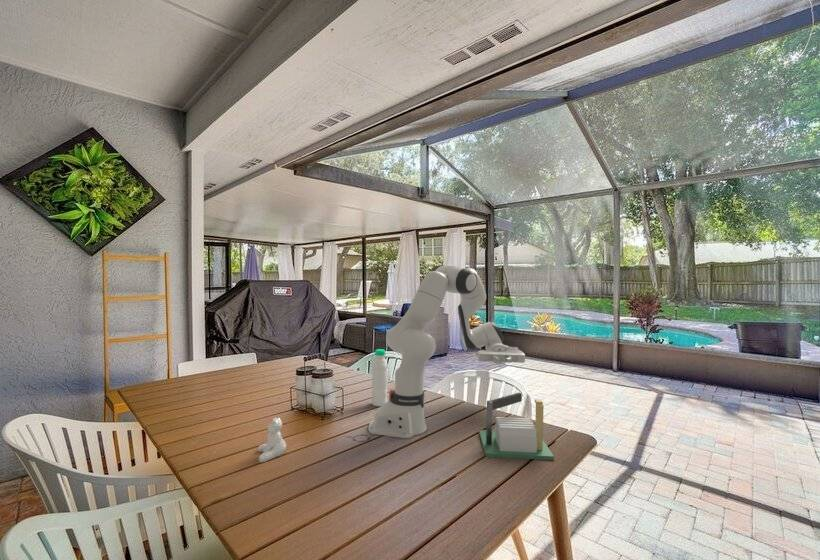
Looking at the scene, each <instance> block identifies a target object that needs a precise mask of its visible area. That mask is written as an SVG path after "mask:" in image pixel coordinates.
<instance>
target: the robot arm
mask: <svg viewBox="0 0 820 560" xmlns="http://www.w3.org/2000/svg"><path fill="white" fill-rule="evenodd" d="M447 292H448V293H450V294H451V293H453V294H460V303H459V304H458V306H457V313H458V321H459V324H460V331H461V340H462V344H463V346H464V348H465V349H466V351H467V350H468V351H471V352H475V351H477V350H478V349H480V348H483V347H485V350H484V349H483V350H482V349H481V350H478V351H477V352H476V353H475V355H476V357H477V360H478V362H488V363H489V362H491V363H492V362H493V363H494V364H497V365H501V364H506V363H507V364H510V363H516V364H517V363H519V364H520V363H521V364H524V363H525V362H526V354H525V353H524V352H523V351H522V350H520V349H519V347H516V346H512V345H511V346H510V345H506V344H504V343H503V342H504V335H503V332H502V330H501V329H500V327H499V326H498V325H497V323H495V322H493V321H488V322H485V323H483V324H481V325H479V326H475V327H474V328H471V325H470V318H471V317H472V316H473V315H474V314H475V313H476V312H477V311H479V310H480V309H481V308H482V307H483V306H484V305H485V303H486V300H487V293H486V289H485V286H484V283H483V281H482V279H481V277H480V276H479V274H478V272H477V271H476V270H475V269H474V268H471V267H465V268H464V267H458V266H455V265H443V264H442V265H436V266H433V267H432V269H431V270H430V271H428V272H427V273H426V275H425V276H424V278H423V279H422V280H421V283H420V285H419V286H418V289H417V290H416V292H415V295H414V297H413V299H412V301H411V303H410V305H409V308H408V309H407V310H406V312H405V313H404V315H403V316H402V317H401V318H400V320H399V321H398V322H397V323H396V324H395V325H394V326H392V327H391V328H389V330H387V333H386V335H385V342H386V345H387V347H389V348H390V349H391V350H392V351H393V352H394V353H396V354H400V355H401V360H400V361H401V362H400V364H399V367H398V368H397V369H396V370H395V373H394V388H390V389H389V391H388V392H389V395H388V396H389V398H388V399H389V400H387V403H385V404H384V405H382V406H379V408H378V409H377V410H376V413H375V414H374V418H373V419H372V420H370V422H369V424H368V428H367V429H368V430H367V431H368V433H370V434H371V435H378V436H379V435H380V436H384V437H393V438H394V437H395V438H399V439H400V438H401V439H410V438H412V437H414V436H418V435H421V434H423V433H425V432H426V431H427V428H428V427H427V424H426V417H425V409H424V407H425V391H424V378H425V377H424V375H425V369H426V366H427V363H428V361H429V359H431V357H433V355H435V352H436V350H437V349H436V348H437V347H436V346H437V344H436V339H435V338H434V337H433V336H432V335H431V334H430V333H428V332H426V331H425V329H426V327H427V326H429V325H430V324H432V323H433V322H434V321H435V320H436V318H437V315H438V313H439V311H440V308H441V306H442V305H443V302H444V299H445V297H446V293H447Z"/></svg>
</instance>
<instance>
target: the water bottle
mask: <svg viewBox="0 0 820 560" xmlns="http://www.w3.org/2000/svg"><path fill="white" fill-rule="evenodd" d="M374 355H375V359H374V361H373V362H372V365H371V366H372V367H371V368H372V371H371V372H372V374H371V375H372V377H371V386H372V389H371V404H372V405H373V406H374V407H381V406H382V405H384V404H385V403H387V402H388V368H389V367H388V366H389V365H388V362H387V360H386V358H385V356H386V350H385V348H384V349H382V348H379V349H375V351H374Z"/></svg>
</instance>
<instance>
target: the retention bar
mask: <svg viewBox="0 0 820 560" xmlns="http://www.w3.org/2000/svg"><path fill="white" fill-rule="evenodd" d="M522 396H523V393H522V392H515V393H513V394H509V395H505V396H501V397H499V398H495V399H492V400H491V399H490V400H486V412H485V413H486V415H485V416H486V419H485V420H486V421H485V422H486V424H485V431H486V443H487V444H492V431H493V411H495V410H497V409H501V408H505V407H507V406H510V405H514V404H518V403H521V402H522V401H523V397H522Z"/></svg>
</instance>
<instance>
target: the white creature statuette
mask: <svg viewBox="0 0 820 560" xmlns="http://www.w3.org/2000/svg"><path fill="white" fill-rule="evenodd" d="M282 426H283V422H282V420H281V418H280V417H273V418H272V421H271V422H270V423H269V424H268V427H267V432H268V435H267V437H266V443H263V444H260V445H259V446H258V450H257V451H258V452H260V453H261V454H260V455H259V456H258V462H259V463H265V462H268V461H272V460H273V459H275V458H277V457H281V456H282V455H283V454H284V453H285V452H286V450H287V443H286V441H285V440H284V439H283V437H282V433H281V432H280V431H281V429H282Z"/></svg>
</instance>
